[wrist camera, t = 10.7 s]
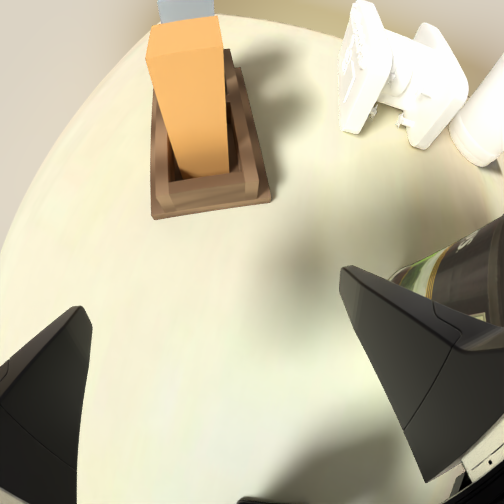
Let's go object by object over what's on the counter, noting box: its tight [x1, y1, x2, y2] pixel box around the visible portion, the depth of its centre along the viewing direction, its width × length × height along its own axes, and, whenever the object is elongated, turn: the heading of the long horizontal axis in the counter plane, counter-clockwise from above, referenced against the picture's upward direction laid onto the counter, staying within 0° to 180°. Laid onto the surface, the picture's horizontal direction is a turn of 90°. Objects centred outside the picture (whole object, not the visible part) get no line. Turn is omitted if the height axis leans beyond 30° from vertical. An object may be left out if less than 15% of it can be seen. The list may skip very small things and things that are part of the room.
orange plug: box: [145, 16, 229, 180], centre depth 19 cm, size 4×4×13 cm
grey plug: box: [157, 0, 214, 24], centre depth 21 cm, size 4×4×13 cm
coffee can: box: [388, 214, 504, 327], centre depth 16 cm, size 10×10×14 cm
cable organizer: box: [338, 0, 468, 150], centre depth 24 cm, size 15×11×12 cm
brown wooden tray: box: [150, 49, 271, 220], centre depth 25 cm, size 18×10×4 cm, turn 10°
